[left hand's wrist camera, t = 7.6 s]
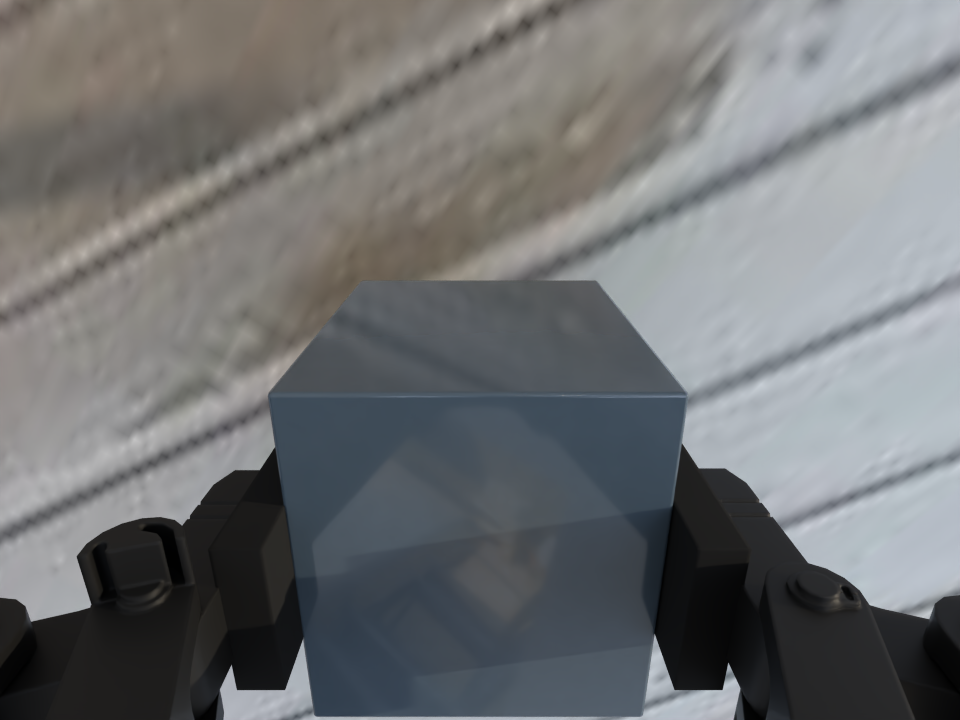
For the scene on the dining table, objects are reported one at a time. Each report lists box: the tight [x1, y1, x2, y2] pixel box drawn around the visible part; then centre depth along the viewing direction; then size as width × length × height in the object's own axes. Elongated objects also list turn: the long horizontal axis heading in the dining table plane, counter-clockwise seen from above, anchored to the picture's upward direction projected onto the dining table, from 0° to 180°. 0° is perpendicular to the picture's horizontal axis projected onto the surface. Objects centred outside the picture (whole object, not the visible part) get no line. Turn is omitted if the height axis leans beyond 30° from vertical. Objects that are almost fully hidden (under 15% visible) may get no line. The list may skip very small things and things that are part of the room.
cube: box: [268, 281, 688, 717], centre depth 13 cm, size 7×6×7 cm
